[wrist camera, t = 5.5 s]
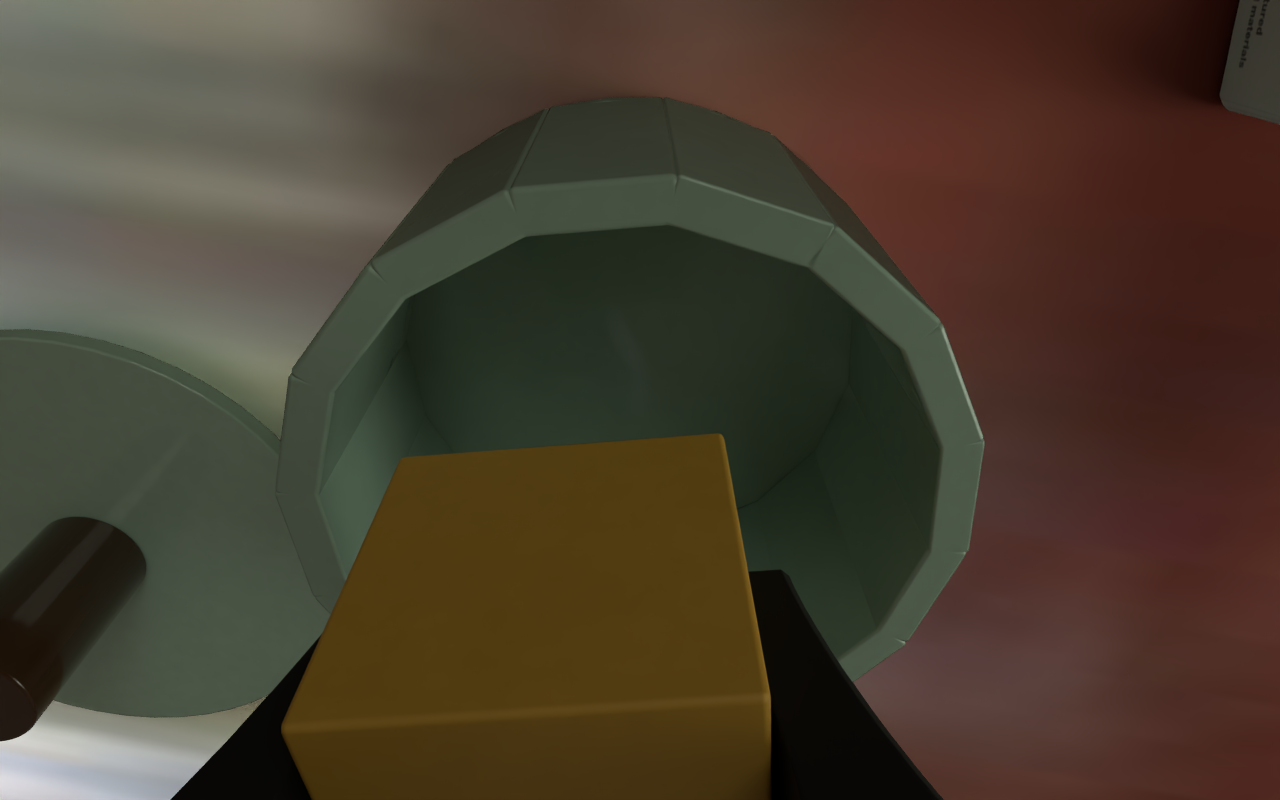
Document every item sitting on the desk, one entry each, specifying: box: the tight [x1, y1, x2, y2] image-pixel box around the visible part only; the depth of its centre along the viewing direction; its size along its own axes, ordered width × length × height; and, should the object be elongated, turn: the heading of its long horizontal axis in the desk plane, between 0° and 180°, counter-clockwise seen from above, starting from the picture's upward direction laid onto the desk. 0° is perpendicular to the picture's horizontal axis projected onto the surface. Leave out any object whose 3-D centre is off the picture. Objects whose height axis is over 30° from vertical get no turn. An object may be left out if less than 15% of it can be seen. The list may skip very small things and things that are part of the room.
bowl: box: [275, 97, 985, 682], centre depth 16 cm, size 11×11×6 cm
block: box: [281, 433, 772, 800], centre depth 10 cm, size 4×4×4 cm
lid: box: [0, 329, 331, 741], centre depth 19 cm, size 12×12×6 cm
